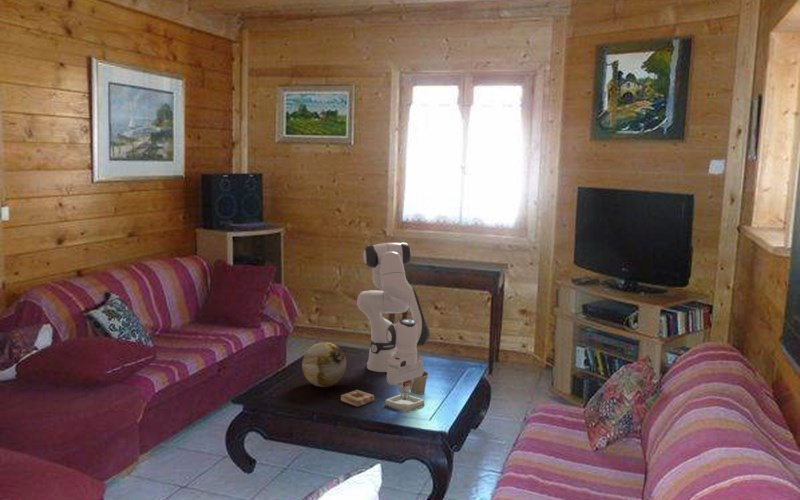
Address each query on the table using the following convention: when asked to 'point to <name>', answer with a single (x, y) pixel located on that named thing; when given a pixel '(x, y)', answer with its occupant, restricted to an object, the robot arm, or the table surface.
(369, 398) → the block
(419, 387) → the flower pot
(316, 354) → the decorative sphere
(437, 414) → the table surface
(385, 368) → the robot arm
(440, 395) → the table surface
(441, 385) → the table surface
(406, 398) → the pin
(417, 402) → the tray
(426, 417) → the table surface
